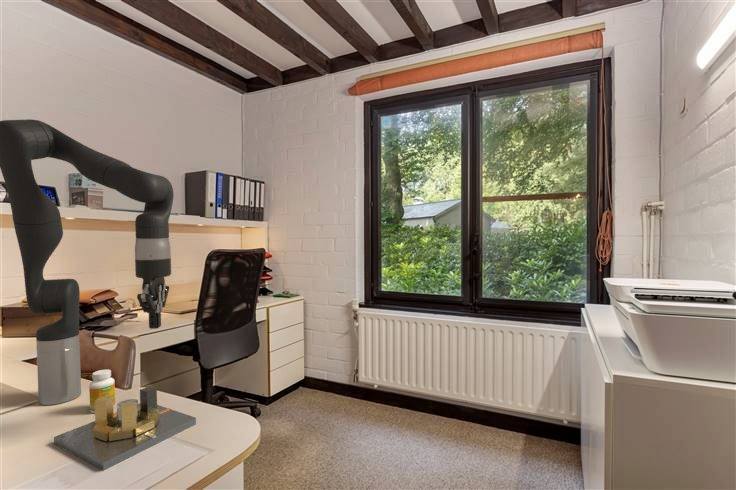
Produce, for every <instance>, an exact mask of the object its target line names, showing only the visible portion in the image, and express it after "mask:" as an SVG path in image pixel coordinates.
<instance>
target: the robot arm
mask: <svg viewBox="0 0 736 490" xmlns="http://www.w3.org/2000/svg"><path fill="white" fill-rule="evenodd" d="M45 158H50V159H55V160H60V161H63V162H66V163H68V164H71V165H72V166H73V167H74V168H75V169H76V170H77V171H78V172H79V173H80V175H82V176H84V177H85V178H86V179H88V180H89V181H91V182H94V183H97V184H98V185H101V186H103V187H107V188H109V189H112V190H115V191H117V192H118V193H119V194H122V195H123V196H126V197H127V198H129V199H131V200H134V201H137V202H139V203H142V204H143V203H144V207H143V212H142V213H140V214H138V215H137V216H136V217H135V219H134V221H135V224H134V225H135V244H134V261H135V262H134V263H135V264H134V265H135V269H134V270H135V271H134V272H135V277H136V278H139V279H142V285H141V291H142V292H141V293H137V296H136V298H137V300H138V303H139V305H140V307H141V308H142V311H143V313H147V314H148V328H149V329H151V330H152V329H153V330H154V329H159V328H160V327H161V326H162V311H163V308H165V307H166V303H167V300H168V295H169V291H170V286H169V285H167V284H166V281H165V278H166V277H169V276H171V275H172V259H171V257H172V255H171V252H172V251H171V243H170V227H169V221H170V216H171V214H172V213H171V212H172V207H173V203H174V195H175V194H174V188H173V184H172V183H171V182H170V180H169V179H168V178H167V177H165V176H162V175H158V174H155V173H151V172H150V173H149V172H146V171H143V170H141V169H137V168H135V167H132V166H131V165H130V164H129V163H127V162H125V161H122V160H120V159H117V158H114V157H113V156H110V155H107V154H105V153H103V152H99V151H97V150H96V149H93V148H91V147H88V146H87V145H85V144H83V143H81V142H79V141H77V140H76V139H74V138H73V137H71V136H69V135H67V134H65V133H64V132H63V131H61V130H59V129H57V128H55V127H53V126H51V125H50V124H48V123H46V122H44V121H41V120H37V119H29V118H28V119H6V120H5V119H3V120H0V172H1V174H2V177H3V180H4V183H5V184H4V185H5V187H6V192H7V196H8V199H9V205H10V210H11V214H12V221H13V226H14V232H15V235H16V240H17V243H18V249H19V252H20V256H21V261H22V268H23V277H24V278H23V279H24V287H25V288H24V289H25V296H26V297H25V298H26V303H27V306H28V308H29V310H30V312H31V313H33V314H36V315H39V314H40V315H43V314H58V313H59V314H60V313H62V316H61V318H59V319H58V320H56V321H54V322H52V323H49V324H46V325H44V326H41V327H40V328H38V329H37V330H36V333H35V339H36V341H35V342H36V362H37V363H36V364H37V365H36V366H37V393H38V394H37V395H38V404H39V405H43V406H51V405H58V404H62V403H63V404H64V403H66V402H69V401H72V400H74V399H77V398H79V397H80V396H81V395H82V379H81V378H82V377H81V376H82V374H81V348H80V347H81V346H80V345H81V344H80V295H81V293H80V285H79V283H78V281H77V280H76V279H75V278H57V279H45V278H44V268H45V267H46V264H47V263H48V260H49V259H50V257H51V256H52V255H53V253H54V252H55V250H56V249H57V247H58V246H59V245H60V243H61V242H62V240H63V235H64V230H63V222H62V217H61V212H60V209H59V208H58V206H57V205H56V204H55V202H53V200H52V199H51V198H50V197H49V196H48V195H47V194H46V193H45V192H44V191H43V189H41V187H40V186H39V185H38V183H37V181H36V178H35V175H34V171H33V166H32V161H33V160H34V161H35V160H42V159H45Z"/></svg>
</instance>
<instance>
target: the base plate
mask: <svg viewBox="0 0 736 490" xmlns="http://www.w3.org/2000/svg"><path fill="white" fill-rule="evenodd" d="M138 401H139V400H138V399H136V398H131V399H125V400H121V401H120V402H117V404H116V412H117V423H116V424H114V425H112V426H110V427H113V428H120V427H122V420H121V405H122V404H127V403H131V402H135V403H136V423H138V422H141V421H143V420H145V419H144V418H140V417H139V418H138V407H140V403H139V402H138ZM157 409H159V413H160V418H159V420H158V423H157V425H156V426H154V428H151V429H149V430H147V431H145V432H143V433H141V434H139V435H137V436H134V435H133V437H131V438H125V439H120V440H114V441H109V440H108V441H104V440H101V439H98V438H95V437H94V433H93V428H94V427H95V425H96V424H97V423H95V420H93V421H92V422H89V423H86V424H84V425H81V426H79V427H76V428H74V429H71V430H69V431H65V432H63V433H61V434H58V435H56V436H54V437H53V444H54V445H55V446H57V447H59V448H61V449H63V450H65V451H66V452H69V453H71V454H72V455H75V456H76V457H78V458H80V459H81V460H83V461H85V462H88V463H89V464H91V465H93V466H95V467H97V468H99V469H100V470H102V471H106V470H107V469H109V468H111V467H114V466H115V465H117V464H119V463H121V462H123V461H125V460H127V459H129V458H131V457H134V456H135V455H136V454H139V453H142V452H144V451H145V450H147V449H149V448H150V447H153V446H156V445H157V444H158V443H161V442H163V441H165V440H166V439H169V438H171V437H173V436H175V435H177V434H179V433H181V432H184V431H185V430H187V429H190V428H191V427H193V426H194V425H197V417H195V416H193V415H190V414H187V413H183V412H180V411H177V410H173V409H171V408H170V407H166V406H162V405H159V404H157Z"/></svg>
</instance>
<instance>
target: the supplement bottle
mask: <svg viewBox="0 0 736 490" xmlns="http://www.w3.org/2000/svg"><path fill="white" fill-rule="evenodd" d="M91 378H92V381H91V382H90V383H89V386H88V388H89V411H90V413H92V414H95V401H96V400H97V399H99V398H100V397H101V396H113V409H114V408H115V407H116V386H115V385H116V384H115V383H116V381H115V378H114V377H112V370H111V369H109V368H107V369H99V370H97V371H94V372H93V373H92V376H91Z"/></svg>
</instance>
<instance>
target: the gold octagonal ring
mask: <svg viewBox="0 0 736 490" xmlns="http://www.w3.org/2000/svg"><path fill="white" fill-rule="evenodd" d="M157 390H158V389H157V387H154V386H151V385H149V386H146V387H144V388H142V389H139V402H140V403H139V404H140V407H138V418H139V417H140V418H144V419H145V420H143V421H141V422H138V423H136V403H135V402H131V403H127V404H122V405H121V420H122V427H120V428H113V427H110V426H112V425H114V424H116V423H117V411H116V412H114V408H113V396H101V397H100V398H99V399H97V400H96V401H95V413H94V419H95V420H94V421H95V423H97V424H96V425H95V427H94V428H93V433H94V437H95V438H98V439H101V440H104V441H108V440H109V441H114V440H120V439H125V438H131V437H133V435H134V436H137V435H139V434H141V433H143V432H145V431H147V430H149V429H151V428H154V426H156V425H157V423H158V420H159V418H160V413H159V409H157V405H158V392H157Z"/></svg>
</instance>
